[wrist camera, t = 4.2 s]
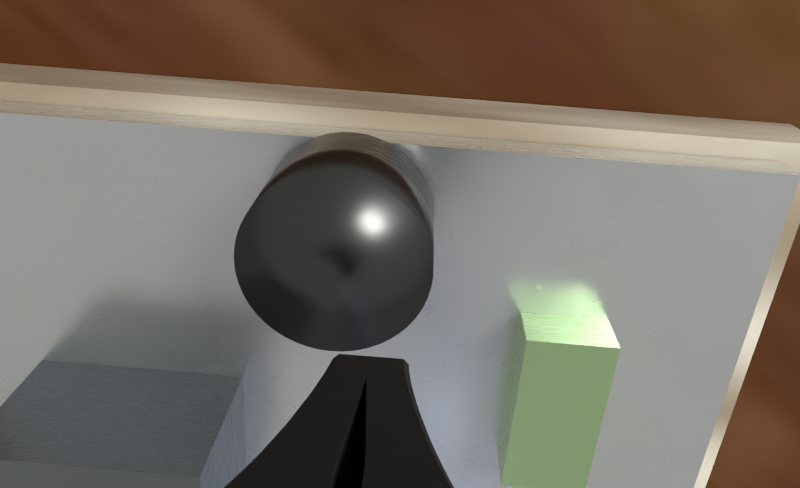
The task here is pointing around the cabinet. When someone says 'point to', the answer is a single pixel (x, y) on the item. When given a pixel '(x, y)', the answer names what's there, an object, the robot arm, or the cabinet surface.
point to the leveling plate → (495, 253)
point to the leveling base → (445, 120)
